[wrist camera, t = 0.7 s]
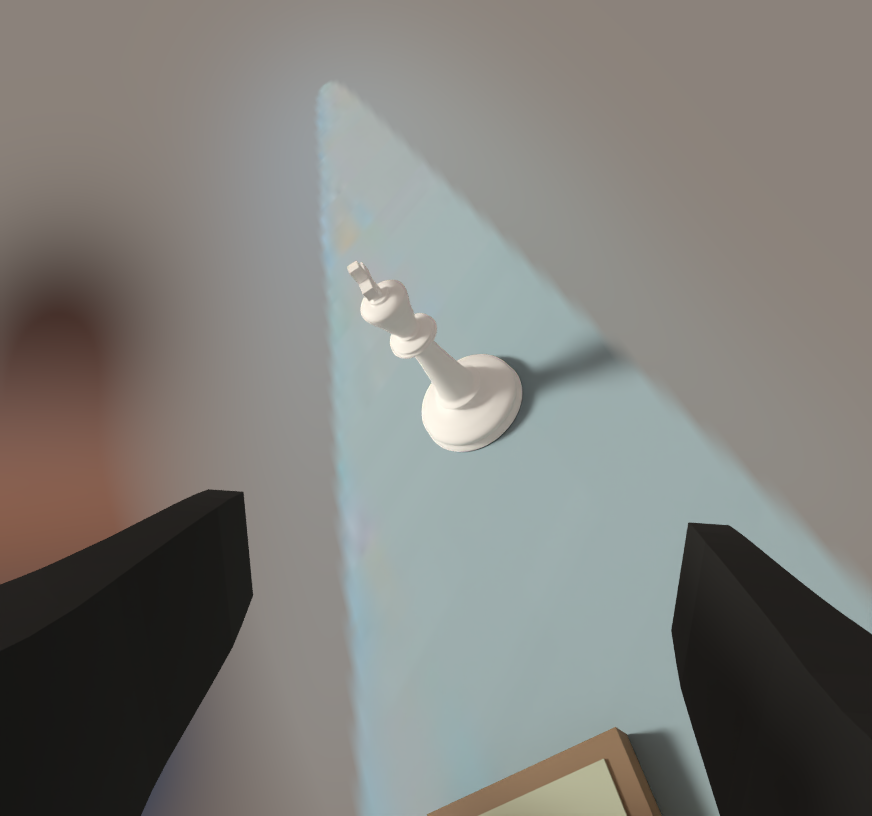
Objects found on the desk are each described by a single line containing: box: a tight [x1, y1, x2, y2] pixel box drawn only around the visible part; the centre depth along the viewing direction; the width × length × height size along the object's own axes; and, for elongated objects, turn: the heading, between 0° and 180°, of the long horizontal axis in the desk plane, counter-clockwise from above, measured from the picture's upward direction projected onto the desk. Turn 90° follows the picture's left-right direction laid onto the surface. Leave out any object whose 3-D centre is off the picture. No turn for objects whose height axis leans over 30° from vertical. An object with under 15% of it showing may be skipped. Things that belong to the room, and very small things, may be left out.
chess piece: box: [347, 261, 522, 452], centre depth 31 cm, size 5×5×10 cm
